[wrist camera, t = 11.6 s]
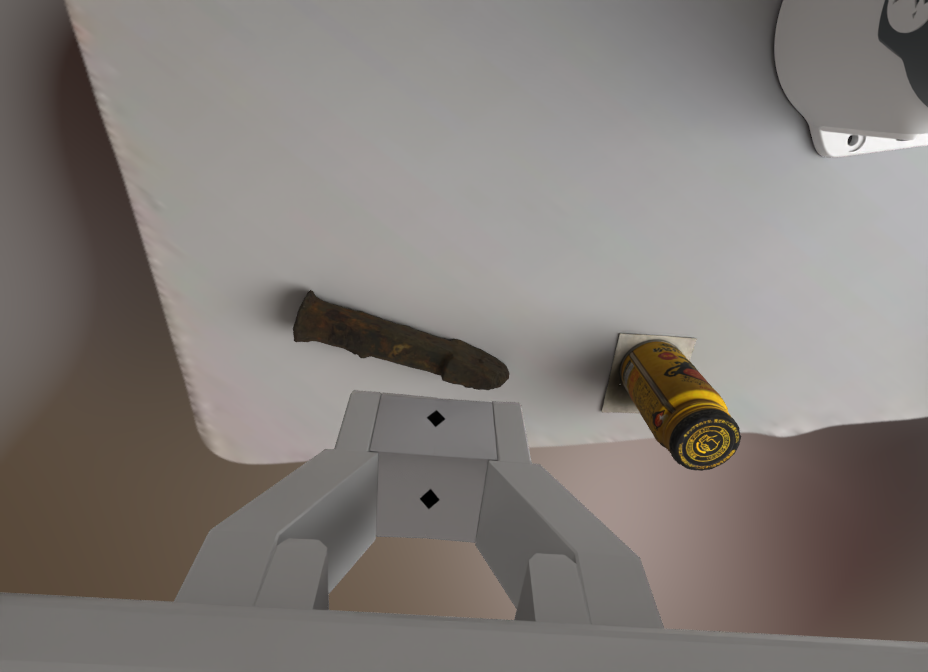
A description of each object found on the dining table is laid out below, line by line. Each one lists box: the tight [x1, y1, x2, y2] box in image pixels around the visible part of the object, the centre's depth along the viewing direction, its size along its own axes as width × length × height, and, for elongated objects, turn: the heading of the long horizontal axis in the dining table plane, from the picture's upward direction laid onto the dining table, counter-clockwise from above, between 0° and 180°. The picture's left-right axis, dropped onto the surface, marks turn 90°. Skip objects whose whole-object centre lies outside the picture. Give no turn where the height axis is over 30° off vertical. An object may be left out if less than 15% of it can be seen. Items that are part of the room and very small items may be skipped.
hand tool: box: [293, 290, 509, 390], centre depth 47 cm, size 19×4×5 cm, turn 68°
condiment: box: [602, 334, 741, 470], centre depth 46 cm, size 7×8×12 cm
